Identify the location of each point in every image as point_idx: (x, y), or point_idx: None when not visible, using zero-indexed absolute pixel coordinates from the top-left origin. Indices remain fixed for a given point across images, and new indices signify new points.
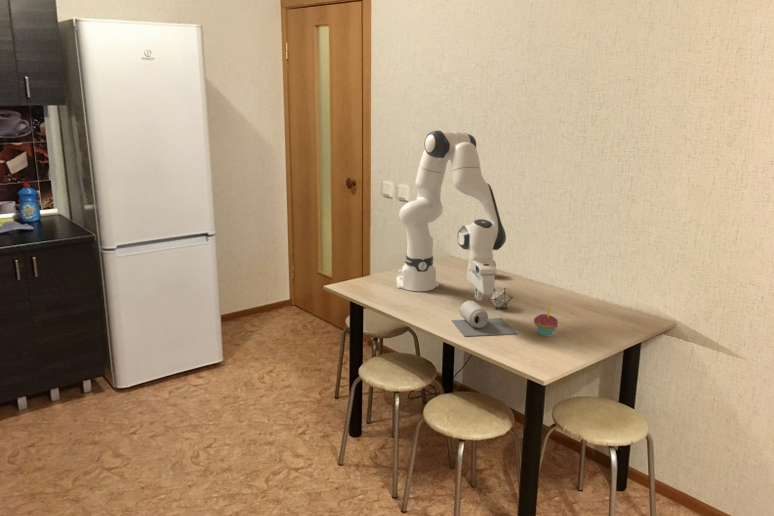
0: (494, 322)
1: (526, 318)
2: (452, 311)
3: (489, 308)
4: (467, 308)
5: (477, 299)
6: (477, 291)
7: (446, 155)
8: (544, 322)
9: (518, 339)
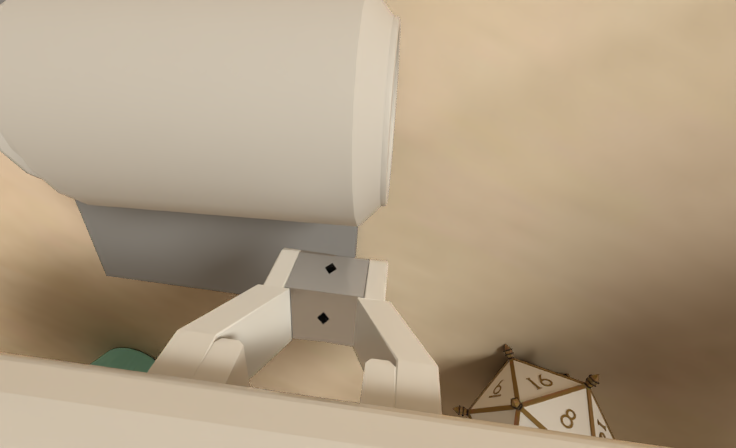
0: (279, 242)
1: (333, 393)
2: (651, 31)
3: (544, 326)
4: (164, 21)
5: (286, 249)
6: (369, 350)
7: None
8: None
9: (28, 241)
